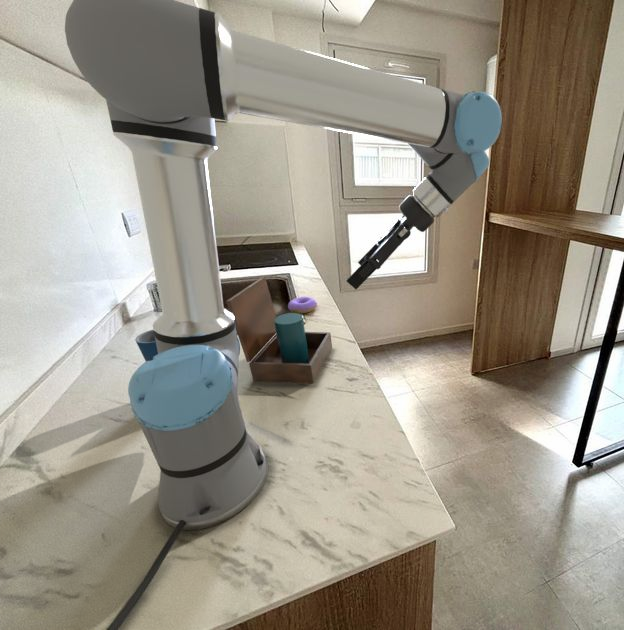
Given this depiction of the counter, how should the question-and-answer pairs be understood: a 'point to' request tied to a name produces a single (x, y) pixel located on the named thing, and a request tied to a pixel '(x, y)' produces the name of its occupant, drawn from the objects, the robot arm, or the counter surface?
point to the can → (291, 338)
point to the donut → (302, 305)
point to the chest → (273, 370)
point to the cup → (147, 345)
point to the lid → (253, 317)
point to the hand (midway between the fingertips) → (357, 274)
